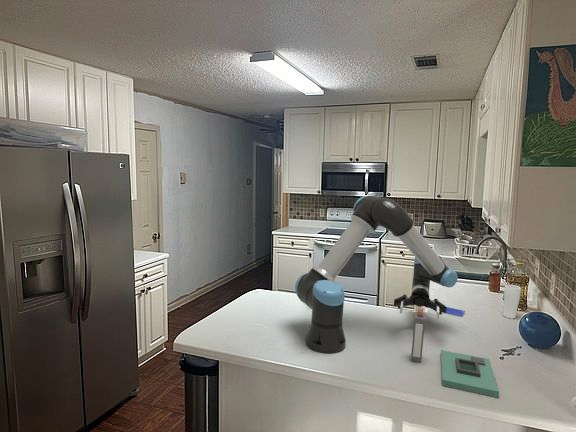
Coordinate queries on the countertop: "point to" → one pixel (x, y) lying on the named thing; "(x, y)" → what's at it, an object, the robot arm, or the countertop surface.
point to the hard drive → (454, 312)
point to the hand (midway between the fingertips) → (419, 312)
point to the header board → (468, 373)
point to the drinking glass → (511, 300)
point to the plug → (418, 335)
